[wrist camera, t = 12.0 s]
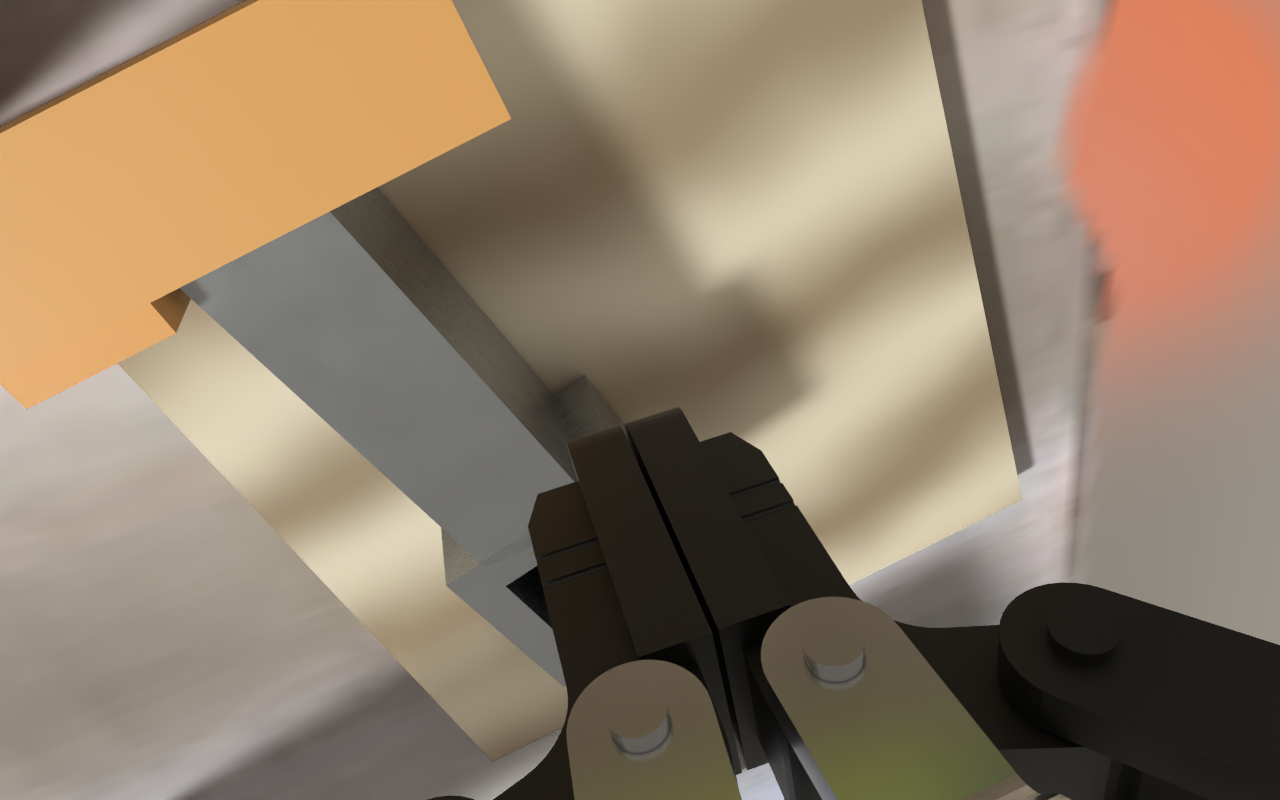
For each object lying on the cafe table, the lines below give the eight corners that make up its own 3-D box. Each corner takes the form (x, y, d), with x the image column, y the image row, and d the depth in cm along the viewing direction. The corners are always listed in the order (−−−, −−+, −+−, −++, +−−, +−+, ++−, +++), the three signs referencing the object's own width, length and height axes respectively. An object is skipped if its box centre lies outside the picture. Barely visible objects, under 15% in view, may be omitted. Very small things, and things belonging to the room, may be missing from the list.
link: (673, 485, 27) (720, 587, 23) (539, 573, 27) (563, 687, 24) (289, 9, 18) (265, 50, 14) (100, 152, 18) (30, 228, 15)
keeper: (-21, 115, 19) (-220, 247, 12) (401, -103, 18) (411, -79, 12) (114, 270, 21) (2, 446, 15) (492, 77, 21) (539, 174, 15)
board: (-44, 157, 19) (-63, 171, 18) (839, -297, 19) (860, -303, 18) (489, 738, 33) (492, 761, 32) (1005, 483, 32) (1022, 499, 31)
